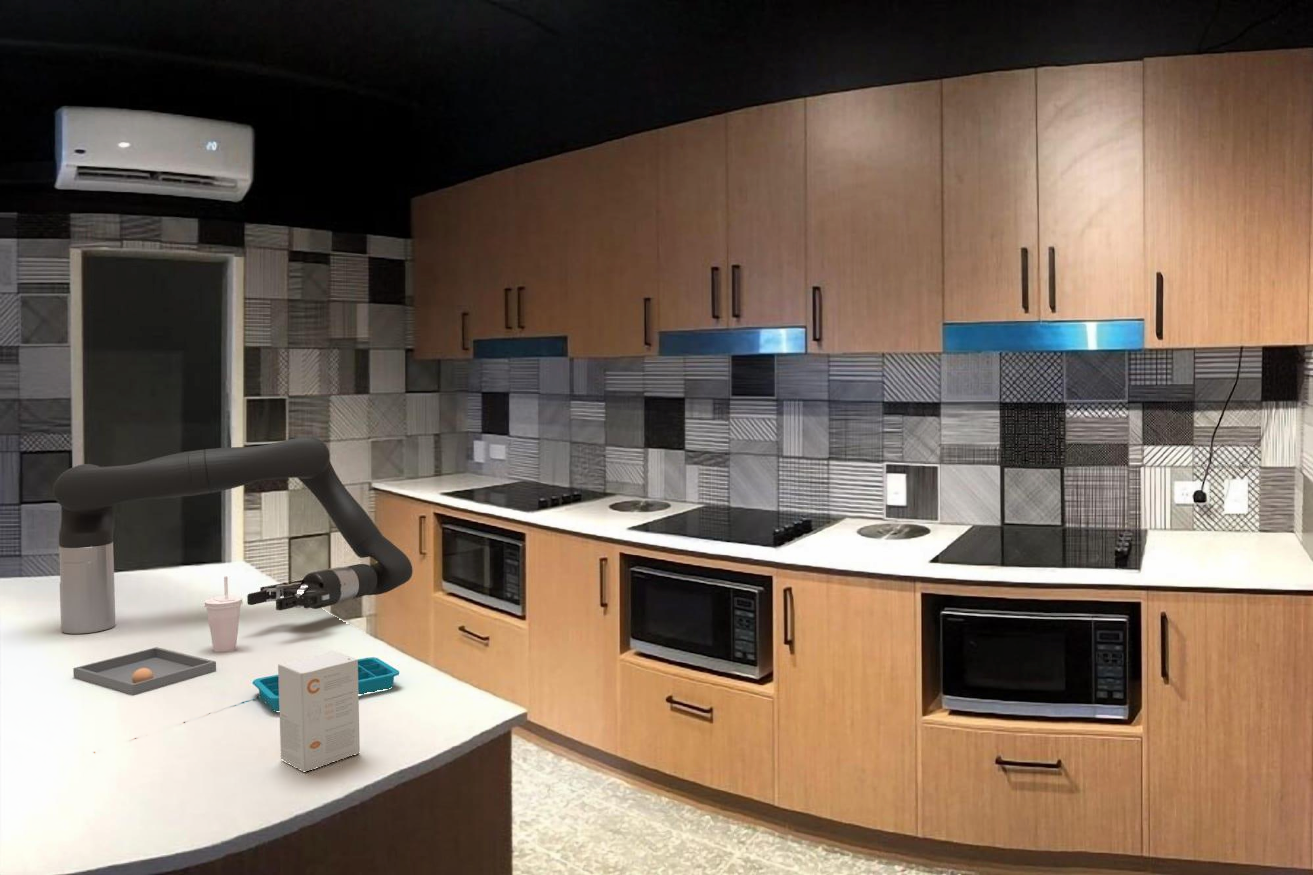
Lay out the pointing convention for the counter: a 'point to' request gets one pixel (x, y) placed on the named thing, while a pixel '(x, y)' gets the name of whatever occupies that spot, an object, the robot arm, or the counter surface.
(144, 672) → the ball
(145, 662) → the tray
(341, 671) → the small box
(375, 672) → the ice cube tray
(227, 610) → the smoothie
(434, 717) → the counter surface
